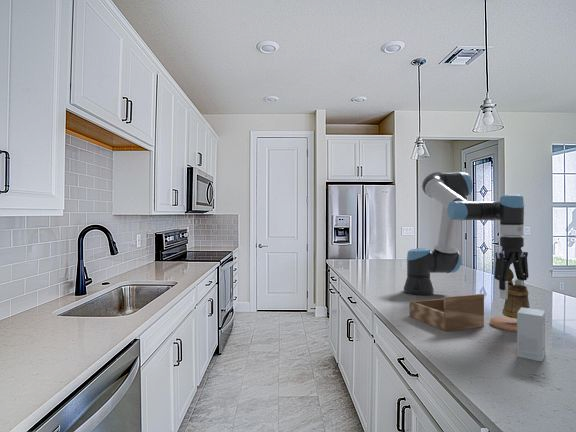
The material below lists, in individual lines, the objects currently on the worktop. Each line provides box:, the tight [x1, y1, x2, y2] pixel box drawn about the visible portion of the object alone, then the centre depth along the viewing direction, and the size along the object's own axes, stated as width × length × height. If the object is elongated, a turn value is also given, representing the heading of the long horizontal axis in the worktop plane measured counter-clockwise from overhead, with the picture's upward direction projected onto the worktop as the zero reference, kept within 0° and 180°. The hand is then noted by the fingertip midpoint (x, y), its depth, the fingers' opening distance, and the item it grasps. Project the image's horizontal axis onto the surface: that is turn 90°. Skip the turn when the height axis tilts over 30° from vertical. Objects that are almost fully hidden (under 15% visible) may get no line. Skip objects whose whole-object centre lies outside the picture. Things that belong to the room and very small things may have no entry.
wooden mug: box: [502, 267, 531, 319], centre depth 136 cm, size 9×14×18 cm, turn 3°
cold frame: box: [409, 293, 485, 332], centre depth 142 cm, size 20×17×12 cm
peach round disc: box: [489, 316, 517, 333], centre depth 136 cm, size 14×14×2 cm
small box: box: [516, 307, 546, 362], centre depth 107 cm, size 8×6×13 cm
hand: (511, 297), depth 135 cm, fingers closed on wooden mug, 7 cm apart
